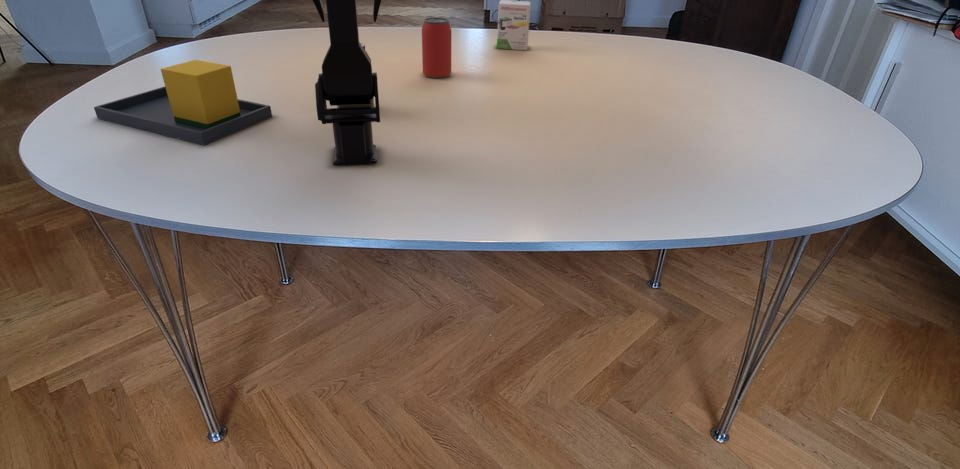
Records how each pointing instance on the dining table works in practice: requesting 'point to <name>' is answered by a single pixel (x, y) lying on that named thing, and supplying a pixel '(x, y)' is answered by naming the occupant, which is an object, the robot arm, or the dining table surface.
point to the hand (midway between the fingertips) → (349, 21)
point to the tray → (157, 117)
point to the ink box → (513, 24)
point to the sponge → (201, 93)
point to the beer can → (436, 47)
